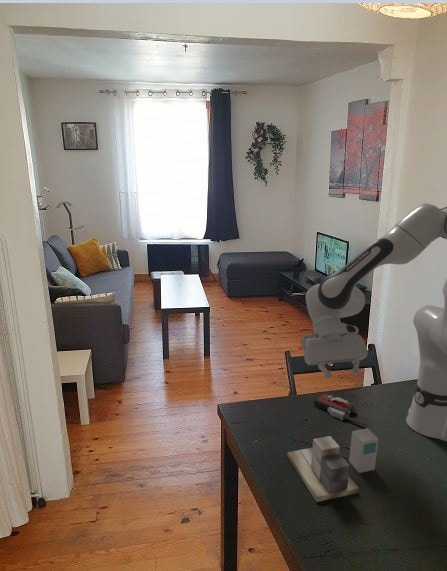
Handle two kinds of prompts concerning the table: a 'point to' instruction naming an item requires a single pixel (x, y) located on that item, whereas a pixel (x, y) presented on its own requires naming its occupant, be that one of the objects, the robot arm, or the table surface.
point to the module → (363, 450)
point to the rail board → (315, 481)
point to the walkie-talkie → (337, 407)
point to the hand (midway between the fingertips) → (342, 375)
